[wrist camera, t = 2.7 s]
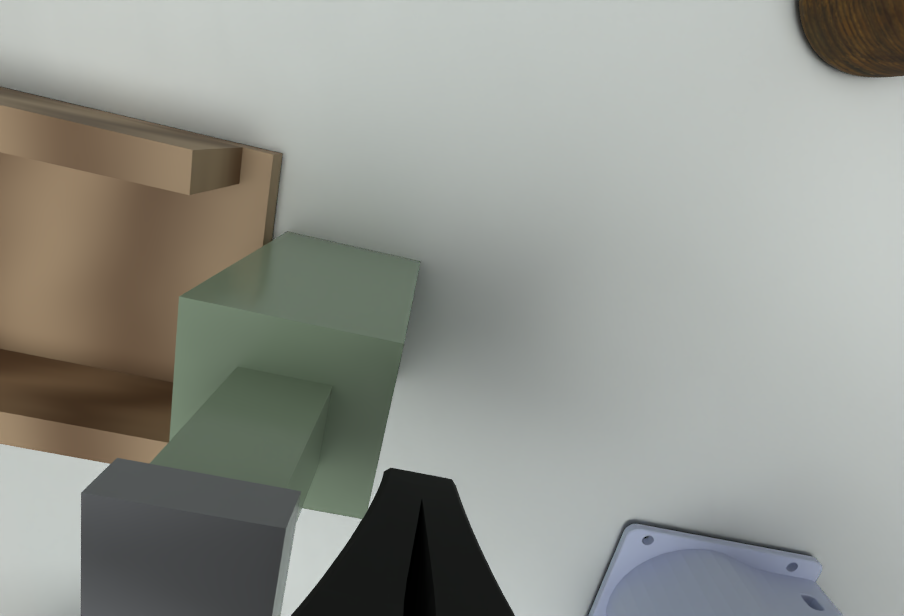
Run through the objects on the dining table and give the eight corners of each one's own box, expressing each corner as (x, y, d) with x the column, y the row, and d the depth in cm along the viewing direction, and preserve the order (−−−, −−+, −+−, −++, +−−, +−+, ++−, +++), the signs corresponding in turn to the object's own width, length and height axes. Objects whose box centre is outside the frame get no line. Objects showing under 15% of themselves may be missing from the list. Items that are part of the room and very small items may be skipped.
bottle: (420, 261, 19) (376, 479, 7) (394, 378, 21) (322, 723, 8) (287, 231, 19) (-7, 407, 7) (271, 353, 20) (9, 679, 8)
